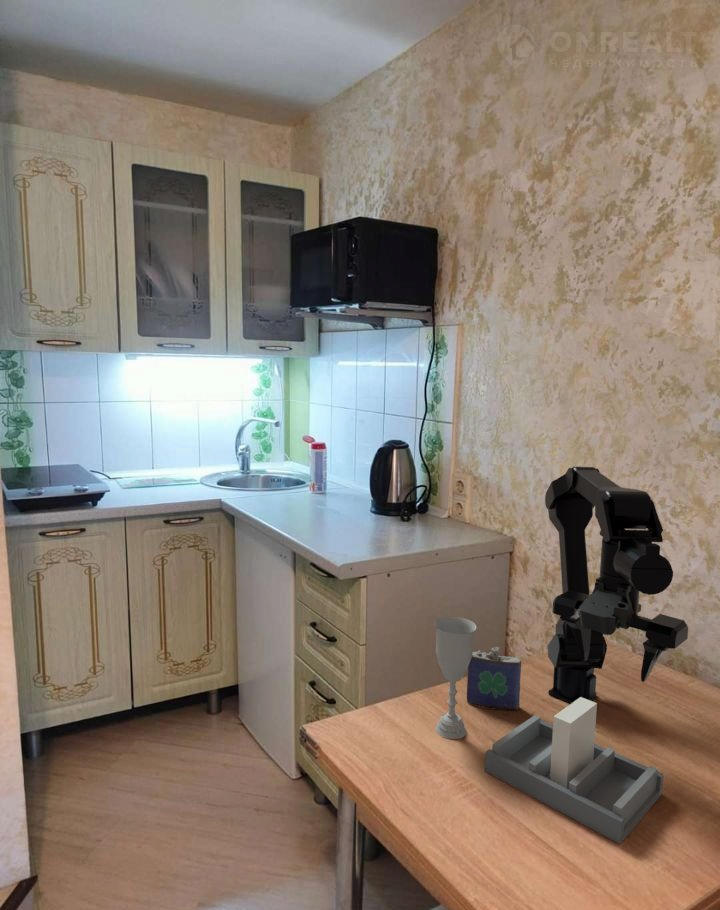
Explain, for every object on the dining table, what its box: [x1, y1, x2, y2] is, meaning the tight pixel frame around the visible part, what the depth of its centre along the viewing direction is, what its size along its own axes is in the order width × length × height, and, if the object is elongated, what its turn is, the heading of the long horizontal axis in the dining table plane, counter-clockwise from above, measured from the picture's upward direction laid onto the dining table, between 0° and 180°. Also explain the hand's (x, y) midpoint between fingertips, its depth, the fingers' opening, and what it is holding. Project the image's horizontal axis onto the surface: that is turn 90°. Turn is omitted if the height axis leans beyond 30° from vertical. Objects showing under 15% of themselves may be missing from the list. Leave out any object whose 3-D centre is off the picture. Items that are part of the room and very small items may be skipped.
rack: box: [484, 714, 665, 845], centre depth 89 cm, size 20×14×4 cm
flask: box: [466, 646, 522, 712], centre depth 110 cm, size 9×3×11 cm, turn 74°
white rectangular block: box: [550, 697, 598, 789], centre depth 89 cm, size 2×8×10 cm, turn 134°
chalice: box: [433, 616, 477, 740], centre depth 101 cm, size 7×7×18 cm
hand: (613, 670), depth 96 cm, fingers open, 9 cm apart
